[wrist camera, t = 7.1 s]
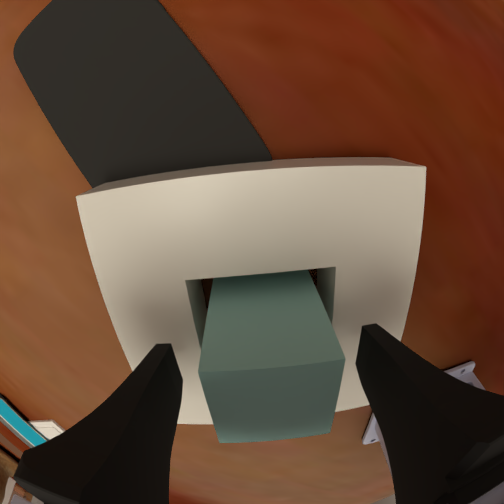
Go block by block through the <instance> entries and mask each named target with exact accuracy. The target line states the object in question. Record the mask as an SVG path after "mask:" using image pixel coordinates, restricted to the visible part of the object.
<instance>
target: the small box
mask: <svg viewBox="0 0 504 504" xmlns="http://www.w3.org/2000/svg"><path fill="white" fill-rule="evenodd" d="M32 497H33V495H32V494H30V493H29V492H26V491H25V493H24V496H23V498H24V499H26V500H28V501H30V502H31V500H32Z"/></svg>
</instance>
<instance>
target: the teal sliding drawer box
mask: <svg viewBox="0 0 504 504" xmlns="http://www.w3.org/2000/svg"><path fill="white" fill-rule="evenodd" d="M0 421H1V422H2V423H3V424H4V425H5V426H6V427H7V428H8V429H10V430H11V431H12V432H13V433H14V434H15V435H16V436H17V437H18V438H20V439H21V440H22V441H23V442H24V443H25V444H27V445H28V446H29V447H30V448H33V447H35V446H37V445H40V444H42V443H44V442H46V441H48V440H50V439H52V438H54V437H56V436H58V435H59V434H61V433H63V432H64V431H66V430H64V429H63V428H62V427H61V426H60V425H59V424H57V423H56V422H55V421H54V420H38V421H27V420H25V419H24V418H23V417H22V416H21V415H20V414H19V413H18V411H16V410H15V409H14V408H13V407H12V406H11V405H10V404H9V403H8V402H7V400H5V399H4V398H3V397H2V395H1V394H0Z"/></svg>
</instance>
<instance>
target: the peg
mask: <svg viewBox="0 0 504 504" xmlns="http://www.w3.org/2000/svg"><path fill="white" fill-rule="evenodd" d="M345 359H346V358H345V356H344V353H343V351H342V348H341V346H340V344H339V341H338V339H337V336H336V334H335V331H334V329H333V327H332V324H331V322H330V320H329V317H328V315H327V312H326V310H325V308H324V305H323V303H322V301H321V298H320V296H319V294H318V292H317V289H316V287H315V285H314V282H313V280H312V278H311V276H310V273H309V271H308V269H307V270H297V271H286V272H276V273H265V274H253V275H242V276H230V277H218V278H213V283H212V289H211V295H210V300H209V306H208V312H207V318H206V324H205V330H204V336H203V342H202V348H201V355H200V361H199V368H198V374H199V378H200V381H201V385H202V388H203V392H204V395H205V398H206V402H207V405H208V408H209V411H210V415H211V418H212V421H213V424H214V427H215V430H216V433H217V436H218V439H219V442H220V443H239V442H258V441H271V440H282V439H291V438H299V437H307V436H314V435H320V434H326V433H330V430H331V426H332V422H333V418H334V414H335V409H336V405H337V400H338V396H339V391H340V386H341V381H342V376H343V370H344V365H345Z"/></svg>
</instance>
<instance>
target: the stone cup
mask: <svg viewBox="0 0 504 504" xmlns="http://www.w3.org/2000/svg"><path fill="white" fill-rule="evenodd" d="M18 464H19V463H18V462H17V461H15V460H14V459H13V458H12V457H11V456H9V455H8V454H7V453H5V452H4V451H3V450H2V449H0V504H2V502H3V500H4V497H5V489H6V485H7V481H8V478H9V476H10V477H13V476H14V473H15V471H16V469H17V466H18Z"/></svg>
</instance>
